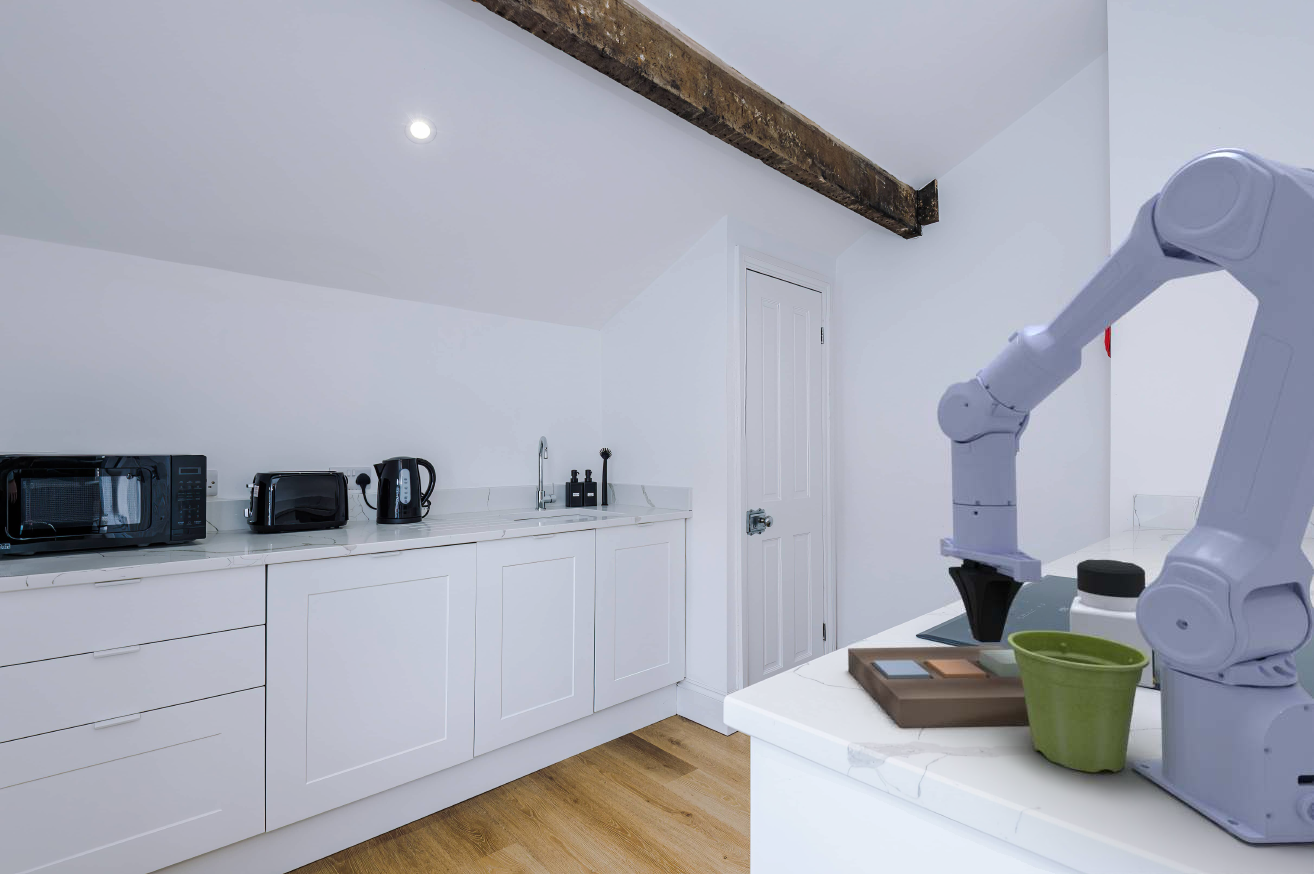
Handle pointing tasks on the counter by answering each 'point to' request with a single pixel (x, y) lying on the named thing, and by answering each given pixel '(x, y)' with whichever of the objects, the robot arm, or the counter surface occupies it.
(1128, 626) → the medicine bottle
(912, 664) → the button slate
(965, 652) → the button panel
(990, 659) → the button sage
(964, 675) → the button terracotta
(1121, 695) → the plant pot
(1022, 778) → the counter surface
